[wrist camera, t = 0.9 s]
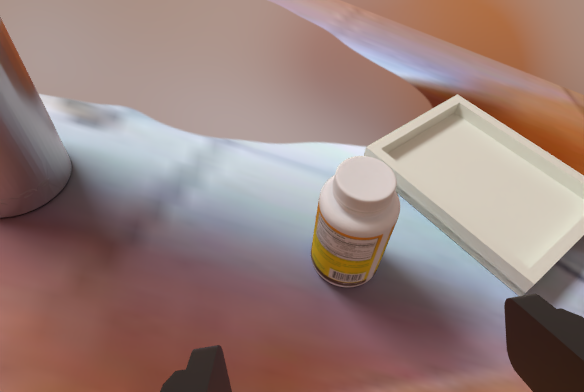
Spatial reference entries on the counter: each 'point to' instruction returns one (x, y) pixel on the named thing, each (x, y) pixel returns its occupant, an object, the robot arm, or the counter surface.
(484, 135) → the tray
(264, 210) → the counter surface
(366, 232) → the supplement bottle
